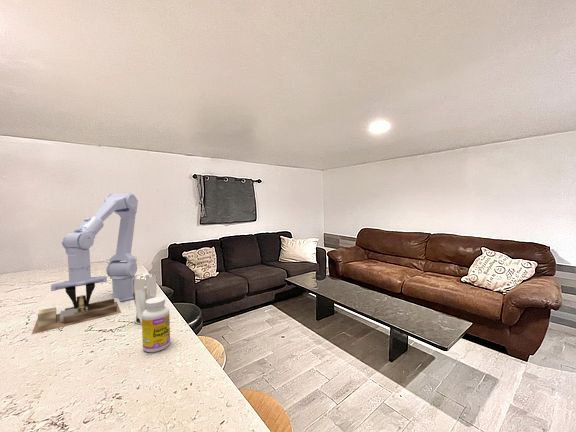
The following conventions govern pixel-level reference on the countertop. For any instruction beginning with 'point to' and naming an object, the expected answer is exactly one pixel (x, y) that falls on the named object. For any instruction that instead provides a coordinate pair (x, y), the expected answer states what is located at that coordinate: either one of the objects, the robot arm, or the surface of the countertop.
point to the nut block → (47, 317)
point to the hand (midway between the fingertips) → (81, 306)
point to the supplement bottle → (155, 325)
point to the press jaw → (80, 309)
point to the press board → (83, 315)
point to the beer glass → (143, 293)
